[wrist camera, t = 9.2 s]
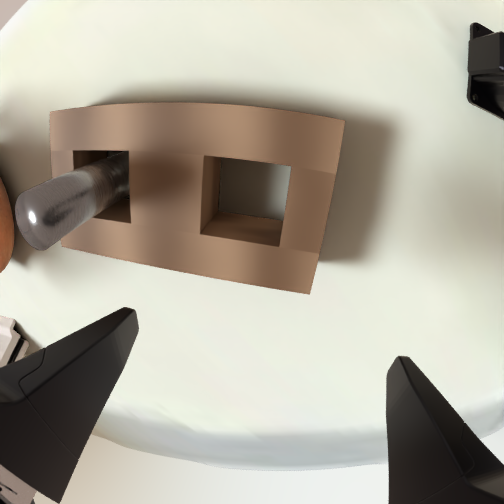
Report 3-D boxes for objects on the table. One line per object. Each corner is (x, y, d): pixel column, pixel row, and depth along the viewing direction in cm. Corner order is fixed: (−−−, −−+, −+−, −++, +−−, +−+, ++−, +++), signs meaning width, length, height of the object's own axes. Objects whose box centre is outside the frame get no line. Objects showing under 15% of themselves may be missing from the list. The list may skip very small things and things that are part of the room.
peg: (149, 150, 19) (47, 192, 10) (149, 191, 20) (58, 255, 12) (115, 149, 19) (11, 189, 10) (116, 188, 21) (21, 245, 12)
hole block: (335, 118, 16) (345, 120, 13) (309, 262, 21) (309, 294, 17) (85, 107, 18) (49, 111, 14) (90, 225, 22) (62, 246, 19)
